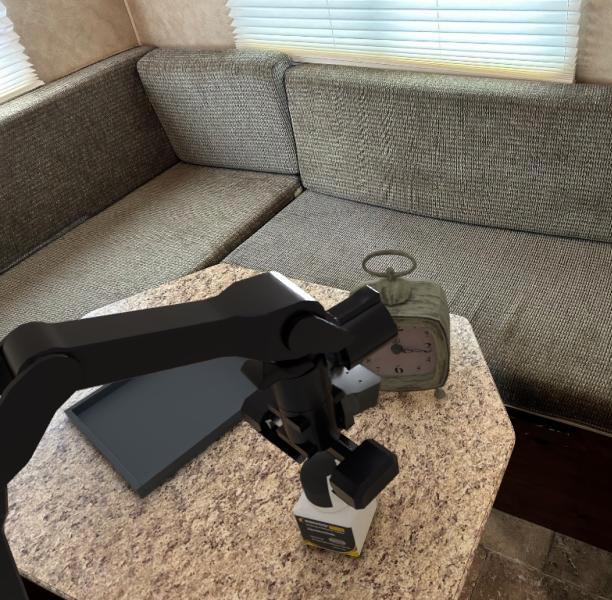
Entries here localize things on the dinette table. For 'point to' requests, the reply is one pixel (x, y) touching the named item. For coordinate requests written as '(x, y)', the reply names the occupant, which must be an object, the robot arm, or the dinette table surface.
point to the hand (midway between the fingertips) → (329, 482)
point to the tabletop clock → (411, 330)
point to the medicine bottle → (329, 510)
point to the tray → (162, 418)
